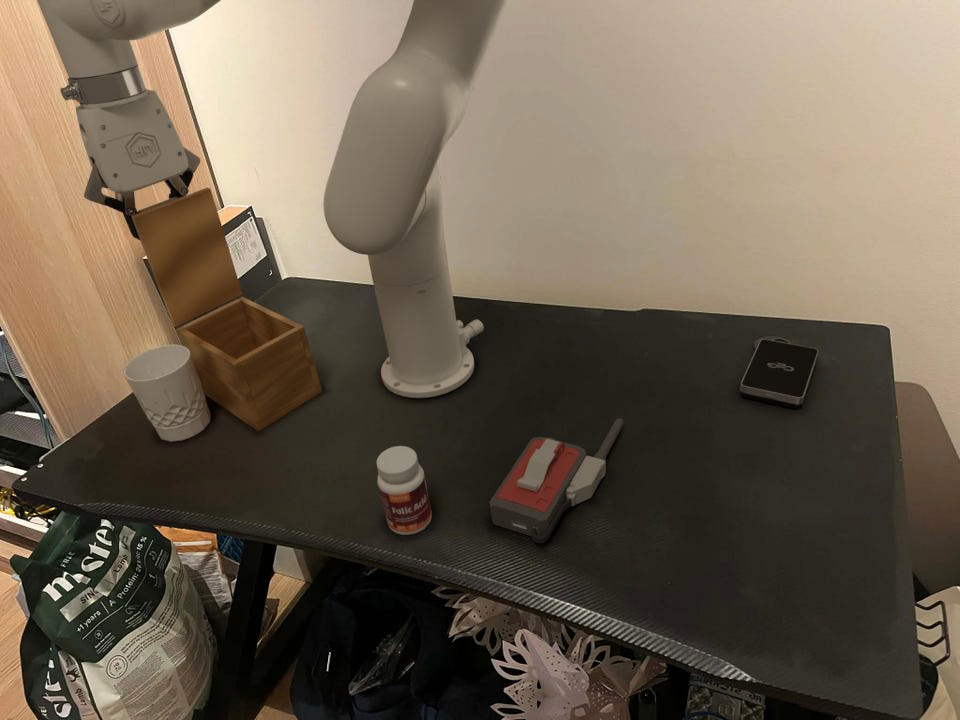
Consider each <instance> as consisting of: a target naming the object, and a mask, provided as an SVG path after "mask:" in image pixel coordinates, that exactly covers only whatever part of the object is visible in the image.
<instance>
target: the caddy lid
mask: <svg viewBox="0 0 960 720" xmlns="http://www.w3.org/2000/svg"><path fill="white" fill-rule="evenodd" d="M214 199H215V198H214V195H213V192H212V189H211V188H210V187H205V188H202V189H200V190H196V191H194V192H192V193H188V194H187V195H186V196H183V197H181V198H177V197H173V198H170V199H169V198H167V199H165V200H163V201H160V202H158V203H155V204H151V205H150V206H147V207H144V208H141V209H138V210H137V212H139V213H138V214H135V215H133V216H131V217H132V220H133V222H134V225H135V228H136V230H137V233H138V236H139V238H140V240H139V241H140V244H141V246H142V249H143V251H144V254H145V257H146V259H147V262H148V264H149V267H150V269H151V273H152V275H153V277H154V281H155V283H156V285H157V288H158V290H159V294H160V295H161V299H162V301H163V303H164V306H165V308H166V312H167V314H168V316H169V319H170V321H171V324H172V326H173V327H175V328H176V327H177V328H178V327H180V326H182V325H184V324H186V323H187V322H190V321H192V320H193V319H196V318H198V317H200V316H202V315H204V314H206V313H209V312H211V310H212V311H213V309H214V310H215V308H216V309H217V308H219V307H221V306H223V305H224V304H226V303H229V302H230V301H233V300H234V299H237V298H238V297H241V296H243V291H242V288H241V284H240V281H239V278H238V275H237V272H236V268H235V265H234V262H233V259H232V254H231V252H230V248H229V245H228V241H227V238H226V235H225V232H224V229H223V226H222V222H221V219H220V215H219V212H218V208H217V205H216V202H215V200H214Z"/></svg>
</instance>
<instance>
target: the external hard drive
mask: <svg viewBox="0 0 960 720" xmlns="http://www.w3.org/2000/svg"><path fill="white" fill-rule="evenodd" d="M819 352H820V350H819V349H818V348H817V347H811V346H808V345H807V346H806V345H800V344H795V343H791V342H784V341H779V340H773V339H767V338H762V339H759V340H758V343H757V345H756V347H755V350H754V352H753V355H752V357H751V359H750V361H749V363H748V366H747V368H746V370H745V373H744V374H743V376H742V379H741V381H740V386H739V394H740V396H741V397H743V398H746V399H750V400H755V401H759V402H765V403H769V404H773V405H778V406H783V407H787V408H792V409H800V408H802V406H803V404H804V401H805V399H806V395H807V392H808V389H809V386H810V383H811V381H812V377H813V373H814V371H815V368H816V365H817V362H818V358H819Z"/></svg>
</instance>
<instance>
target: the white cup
mask: <svg viewBox="0 0 960 720" xmlns="http://www.w3.org/2000/svg"><path fill="white" fill-rule="evenodd" d="M123 377H124V378H125V380H126V382H127V384H128V385H129V387H130V389H131V391H132V393H133V395H134V397H135V398H136V400H137V402H138V404H139V406H140V407H141V409H142V411H143V413H144V414H145V415H146V418H147V419H148V421H149V422H150V423H151V425H152V426H153V429H154V430H155V432H156V434H157V436H159V439H161V440H163V441H165V442H166V441H167V442H170V443H171V442H181V441H185V440H187V439H191V438H194V437H195V436H197V435H198V434H199V433H200V434H201V432H203V431H204V430H205V429H206V428H207V426H208V425H209V424H210V423H211V417H212V416H211V415H212V414H211V411H210V409H209V405H208V403H207V399H206V395H205V394H204V391H203V389H202V385H201V382H200V379H199V376H198V373H197V370H196V367H195V365H194V362H193V359H192V356H191V353H190V350H189V349H188V348H187V347H185V346H182V344H174V343H173V344H164V345H159V346H156V347H151V348H150V349H146V350H144V351H143V352H140V353H139V354H137V355H136V356H134V357H133V358H131V359H130V360H129V361H128V362H127V363H126V364H125V365H124V368H123Z"/></svg>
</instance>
